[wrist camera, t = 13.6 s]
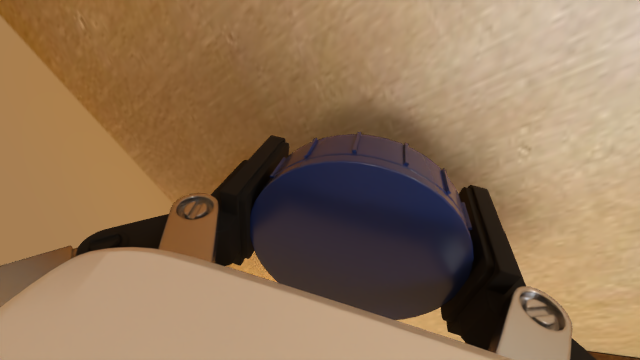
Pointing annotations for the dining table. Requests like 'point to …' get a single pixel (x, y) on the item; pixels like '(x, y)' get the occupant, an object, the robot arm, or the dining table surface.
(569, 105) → the dining table surface
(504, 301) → the robot arm
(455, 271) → the jar lid
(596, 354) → the mug
